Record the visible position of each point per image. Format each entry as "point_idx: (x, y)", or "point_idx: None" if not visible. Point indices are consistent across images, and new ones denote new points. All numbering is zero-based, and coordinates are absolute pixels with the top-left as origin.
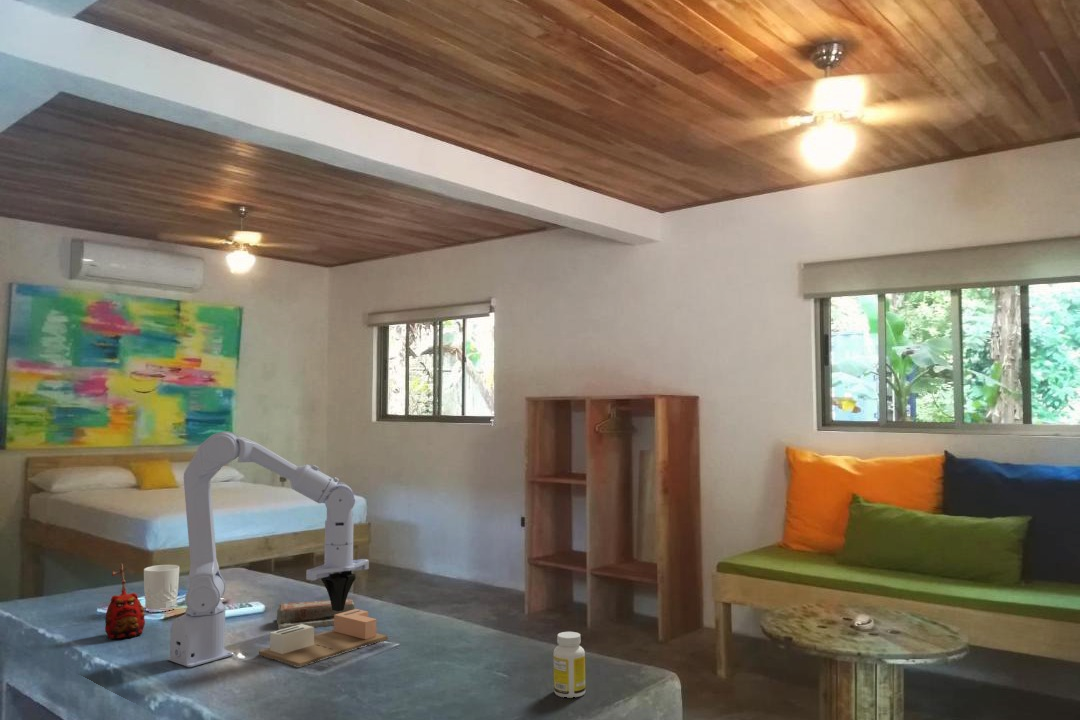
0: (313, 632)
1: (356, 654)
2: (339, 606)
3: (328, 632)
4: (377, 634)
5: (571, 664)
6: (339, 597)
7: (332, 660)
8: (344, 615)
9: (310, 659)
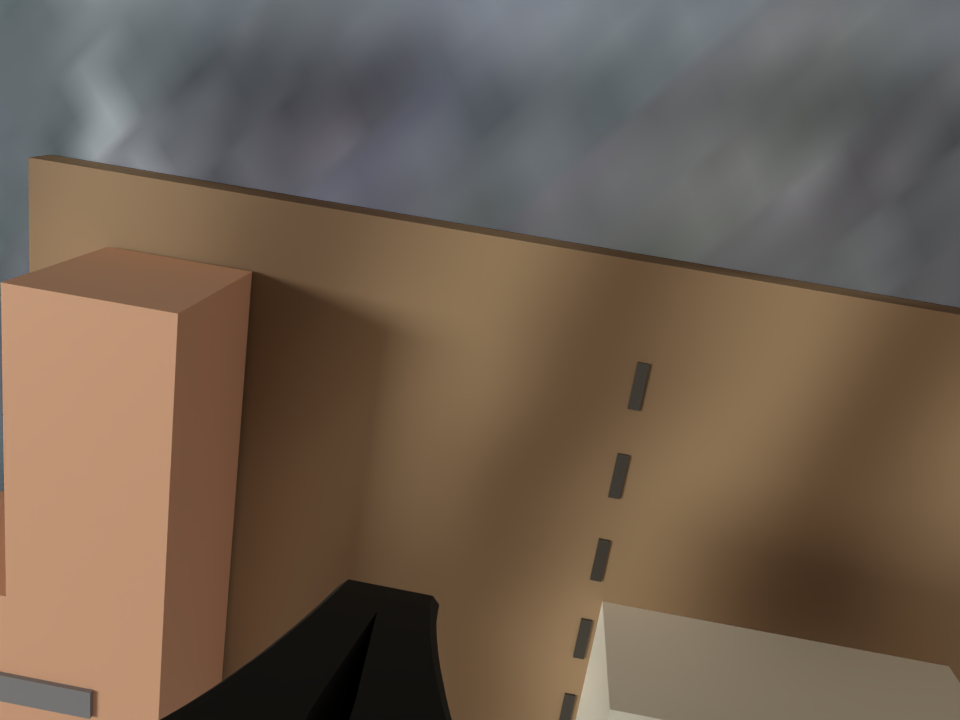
0: (616, 673)
1: (562, 119)
2: (427, 622)
3: None
4: None
5: None
6: (429, 709)
7: (816, 208)
8: (112, 695)
9: None
